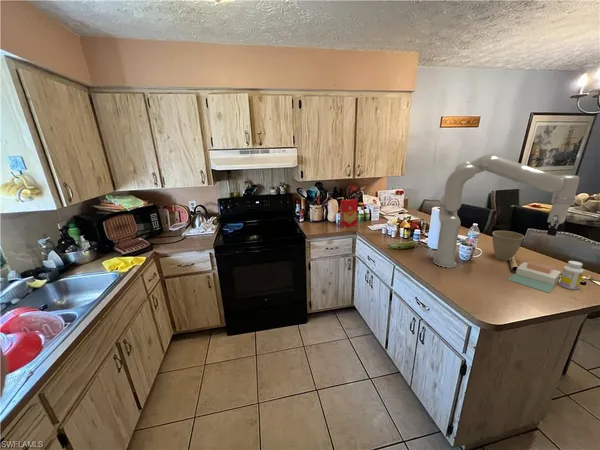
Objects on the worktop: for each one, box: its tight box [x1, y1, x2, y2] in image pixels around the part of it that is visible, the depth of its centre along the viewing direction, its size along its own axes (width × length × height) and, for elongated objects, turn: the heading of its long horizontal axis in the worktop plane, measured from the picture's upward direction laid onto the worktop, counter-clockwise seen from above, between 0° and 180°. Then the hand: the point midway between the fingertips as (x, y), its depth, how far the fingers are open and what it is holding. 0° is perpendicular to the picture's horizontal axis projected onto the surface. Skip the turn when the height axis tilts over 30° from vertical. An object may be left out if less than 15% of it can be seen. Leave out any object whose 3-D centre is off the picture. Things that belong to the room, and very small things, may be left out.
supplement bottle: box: [559, 260, 584, 290], centre depth 121 cm, size 7×7×13 cm
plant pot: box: [492, 230, 525, 262], centre depth 153 cm, size 15×15×16 cm
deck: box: [515, 261, 562, 285], centre depth 132 cm, size 15×12×4 cm
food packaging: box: [339, 198, 358, 229], centre depth 228 cm, size 15×5×25 cm, turn 109°
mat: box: [507, 273, 556, 294], centre depth 127 cm, size 16×10×1 cm, turn 35°
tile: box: [527, 260, 554, 274], centre depth 132 cm, size 9×6×2 cm, turn 35°
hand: (554, 233), depth 127 cm, fingers open, 9 cm apart
